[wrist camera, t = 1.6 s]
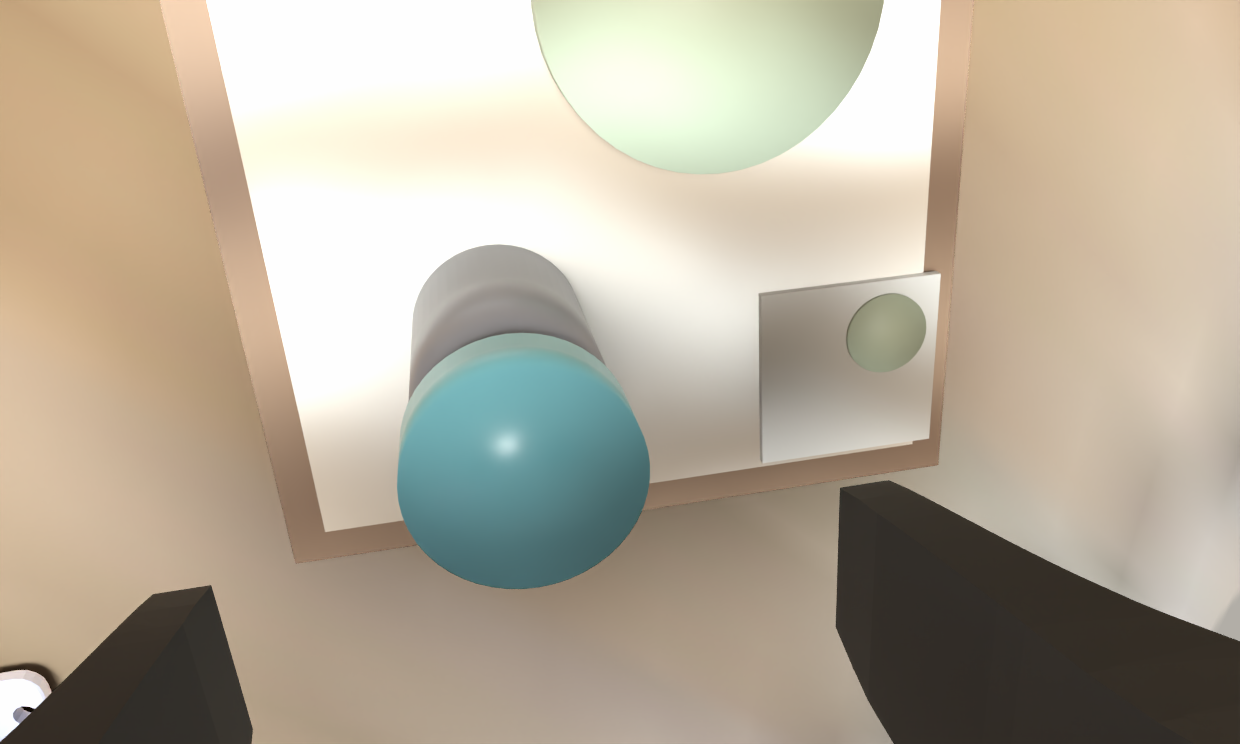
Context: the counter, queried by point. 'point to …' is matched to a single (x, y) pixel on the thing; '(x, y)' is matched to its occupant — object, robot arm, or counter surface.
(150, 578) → the counter surface
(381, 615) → the counter surface
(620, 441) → the marker
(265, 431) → the board
